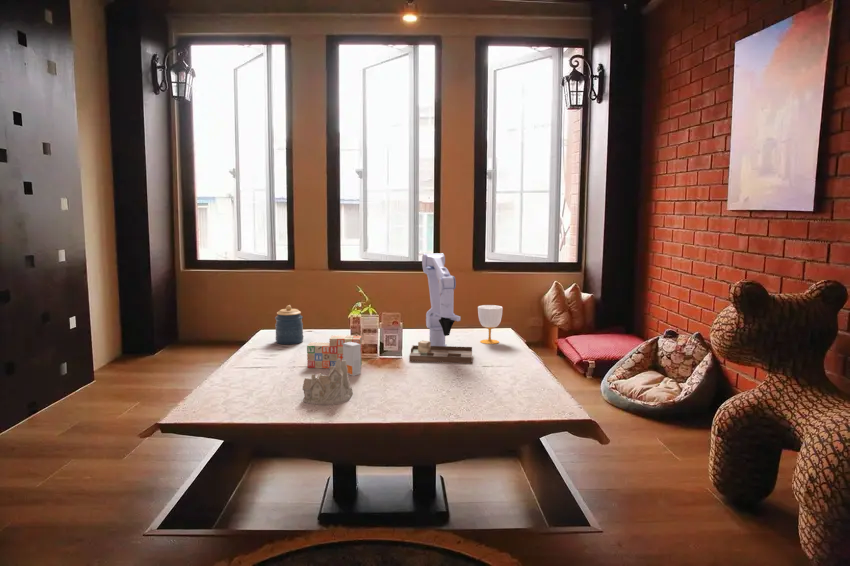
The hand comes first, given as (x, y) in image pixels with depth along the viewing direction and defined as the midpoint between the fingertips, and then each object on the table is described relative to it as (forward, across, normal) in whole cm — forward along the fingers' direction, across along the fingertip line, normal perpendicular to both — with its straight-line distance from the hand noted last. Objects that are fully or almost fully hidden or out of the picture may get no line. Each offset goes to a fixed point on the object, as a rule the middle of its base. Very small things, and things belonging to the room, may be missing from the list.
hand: (446, 335), depth 262 cm
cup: (+10, +6, -35) cm, 37 cm away
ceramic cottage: (+10, -12, +69) cm, 70 cm away
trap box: (+9, -1, +4) cm, 10 cm away
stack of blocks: (+10, +20, +44) cm, 50 cm away
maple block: (+7, +6, +7) cm, 12 cm away
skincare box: (+10, +6, +46) cm, 47 cm away
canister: (+10, +70, +35) cm, 79 cm away
